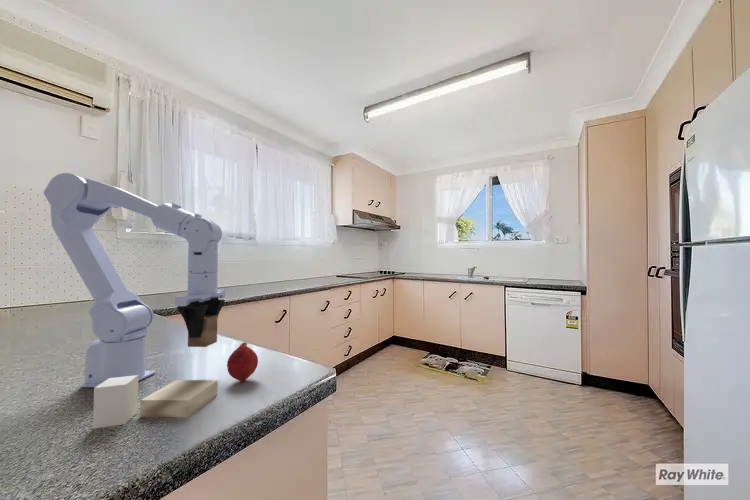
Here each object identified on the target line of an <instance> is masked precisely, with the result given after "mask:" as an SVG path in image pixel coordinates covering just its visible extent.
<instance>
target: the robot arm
mask: <svg viewBox="0 0 750 500" xmlns="http://www.w3.org/2000/svg"><path fill="white" fill-rule="evenodd" d="M43 195H44V196H45V198H46V200H47V202H48V204H49V205H50V219H51V227H52V229H53V231H54V233H55V234H56V236H57V237H58V240H59V241H60V243H61V245H62V246H63V248H64V250H65V252H66V253H67V256H69V259H70V260H71V263H72V264H73V266H74V267H75V269H76V271H77V272H78V274H79V276H80V278H81V279H82V281H83V283H84V285H85V287H86V288H87V290H88V292H89V293H90V295H91V298H93V301H94V303H93V304H92V306H91V307H90V308H89V311H88V314H89V316H90V318H91V322H92V323H91V327H92V332H93V334H94V335H95V336H96V337H97V338H98V339H96V340H94V341H93V342H92V343H91V344H90V345H89V346H88V348H87V349H86V353H85V357H84V358H85V359H84V360H85V361H84V362H85V363H84V365H85V366H84V383H81V384H80V385H79V387H80V388H95V387H97V386H98V385H100V384H101V383H103V382H104V381H106V380H107V379H109V378H115V377H125V376H134V375H139V376H138V382H139V381H141V380H143V379H146V378H148V377H150V376H152V375H154V374H156V373H157V371H156V370H146V359H147V358H146V355H147V353H146V351H147V333H148V328H149V327H150V326H151V324H152V323H153V321H154V317H155V316H154V311H153V309H152V308H151V307H150V306H149V305H147V304H146V303H144V302H143V301H142V299H141V298H140V296H139V295H137V294H135V293H133V292H131V291H130V290H129V289H128V288H127V287H126V285H125V282H124V281H123V280H122V278H121V276H120V275H119V273H118V271H117V269H116V268H115V266H114V264H113V262H112V261H111V259H110V257H109V255H108V254H107V252H106V250H105V249H104V247H103V245H102V243H101V242H100V239H99V238H98V236H97V234H96V233H95V231H94V229H93V226H94V225H95V224H96V223H97V222H99V221H100V220H101V219H102V217H104V216H105V215H106V214H107V213H108V211H110V210H111V209H112V208H113V209H118V208H123V209H125V210H129V211H131V212H135V213H136V214H140V215H142V216H145V217H147V218H150V219H151V222H152V224H153V226H155V228H159V229H160V230H163V231H166V232H167V233H170V234H173V235H175V236H178V237H179V238H182V239H185V240H186V241H187V243H188V251H187V252H188V253H187V254H188V255H187V290H186V291H187V292H186V293H184V294H179V295H176V296H174V307H177V309H176V310H177V311H178V312H179V313H180V315H181V316H182V318H183V320H184V323H185V327H186V330H187V334H188V333H189V337H190V338H199V337H201V334H202V328H203V320H204V316H205V315H218V316H219V314H220V312H221V310H222V308H223V307H224V305H225V302H226V301H225V299H224V298H226V289H218V271H219V269H218V266H219V265H218V264H219V262H218V259H219V257H218V256H219V251H218V246H219V245H218V243H219V242H220V240H221V238H222V236H223V232H222V231H223V230H222V228H221V227H220V225H219V224H217V223H216V222H214V221H213V220H211V219H205V218H202V216H203V215H202V214H199V213H197V212H196V213H192V212H189V211H187V210H185V209H183V208H182V206H181V205H179V204H177V203H175V202H172V204H171V203H166V202H165V203H161V204H156V203H153V202H151V201H149V200H147V199H145V198H142V197H140V196H138V195H135V194H134V193H131V192H129V191H127V190H124V189H122V188H120V187H117V186H114V185H110V184H107V183H104V182H100V181H97V180H94V179H90V178H85V177H81V176H78V175H77V174H74V173H69V172H63V173H59V174H57V175H54V176H53V177H52V178H51V179H50V181H49V182H48V184H47V186H46V187H45V189H44V190H43Z"/></svg>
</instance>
